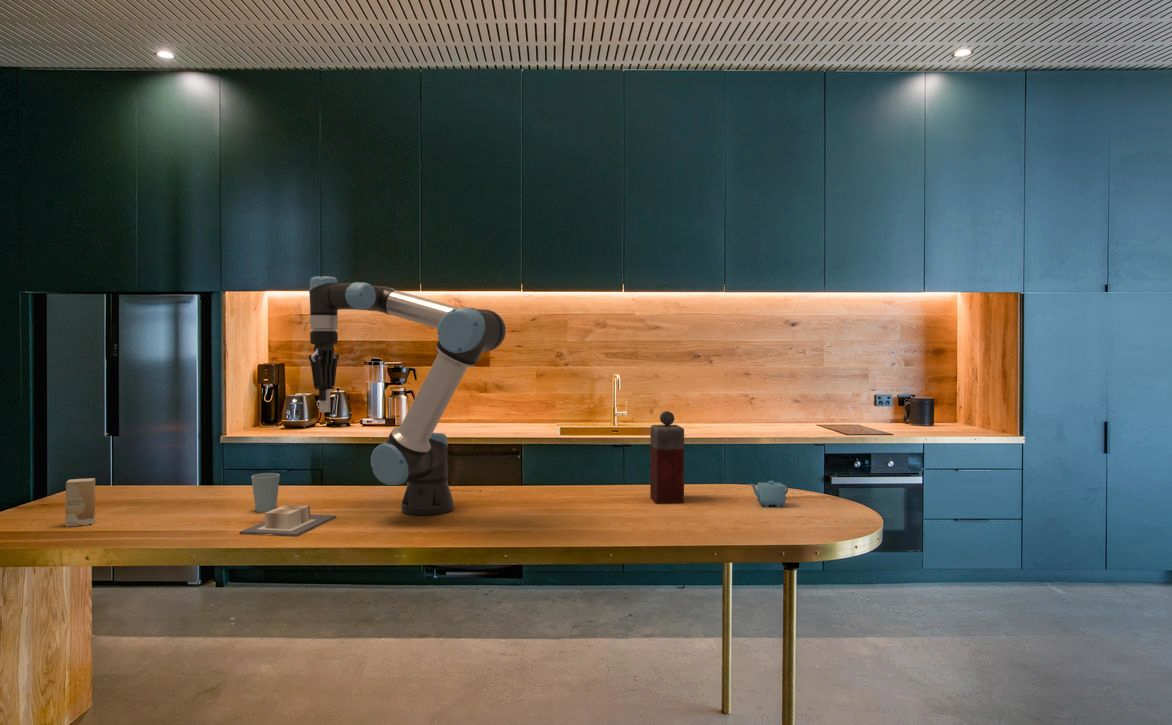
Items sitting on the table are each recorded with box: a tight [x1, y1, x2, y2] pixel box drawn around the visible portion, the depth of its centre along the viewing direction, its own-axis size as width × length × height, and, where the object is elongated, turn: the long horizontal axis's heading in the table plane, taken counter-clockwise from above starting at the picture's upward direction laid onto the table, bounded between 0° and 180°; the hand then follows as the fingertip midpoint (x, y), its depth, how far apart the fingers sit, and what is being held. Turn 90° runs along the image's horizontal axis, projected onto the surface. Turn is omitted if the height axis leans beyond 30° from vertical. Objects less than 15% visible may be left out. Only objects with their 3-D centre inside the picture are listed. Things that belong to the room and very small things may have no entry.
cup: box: [251, 472, 281, 513], centre depth 211 cm, size 8×8×10 cm
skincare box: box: [65, 477, 96, 528], centre depth 195 cm, size 6×4×12 cm
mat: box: [239, 513, 337, 537], centre depth 194 cm, size 16×20×1 cm
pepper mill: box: [649, 410, 685, 505], centre depth 225 cm, size 9×11×28 cm
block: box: [264, 504, 311, 529], centre depth 193 cm, size 7×4×10 cm
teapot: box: [748, 480, 789, 508], centre depth 217 cm, size 12×6×8 cm, turn 88°
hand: (324, 411), depth 207 cm, fingers closed
